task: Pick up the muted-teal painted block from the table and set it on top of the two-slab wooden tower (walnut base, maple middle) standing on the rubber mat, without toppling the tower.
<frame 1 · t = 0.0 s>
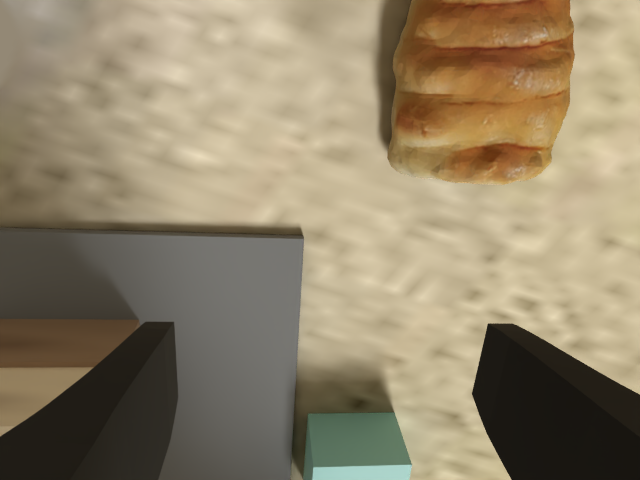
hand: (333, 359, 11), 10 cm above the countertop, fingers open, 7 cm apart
tower mid: (47, 424, 19), point 3 cm above the countertop, touching tower base
pastry: (460, 72, 19), on the countertop
tower base: (75, 376, 22), resting on mat, touching tower mid
mat: (127, 404, 23), on the countertop
teal block: (347, 444, 26), on the countertop
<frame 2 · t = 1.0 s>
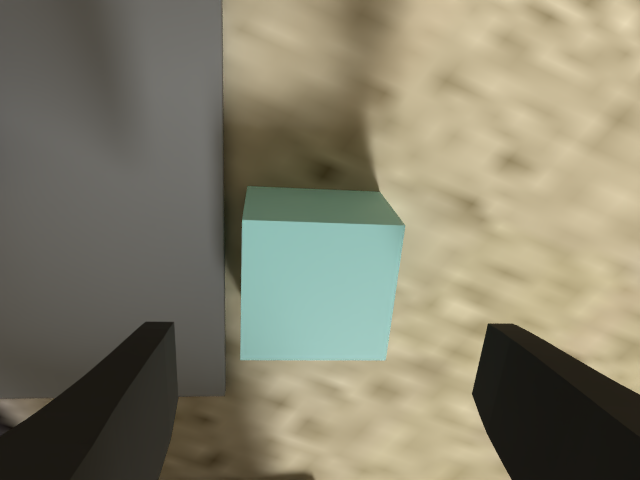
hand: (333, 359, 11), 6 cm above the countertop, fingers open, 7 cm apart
teal block: (310, 248, 17), on the countertop
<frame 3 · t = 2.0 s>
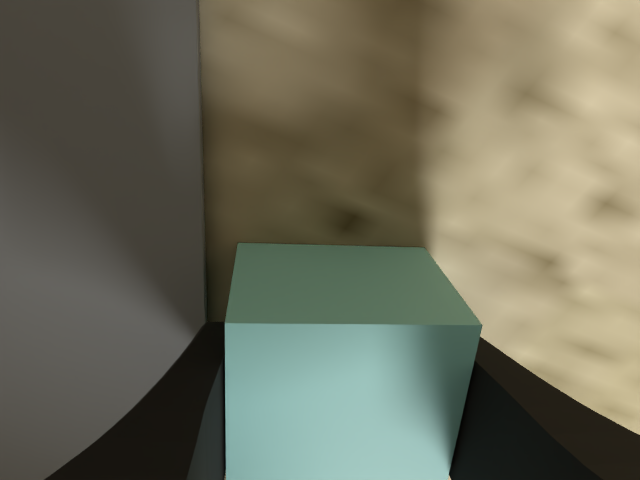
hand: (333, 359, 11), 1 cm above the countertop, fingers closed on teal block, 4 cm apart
teal block: (326, 325, 12), on the countertop, touching gripper
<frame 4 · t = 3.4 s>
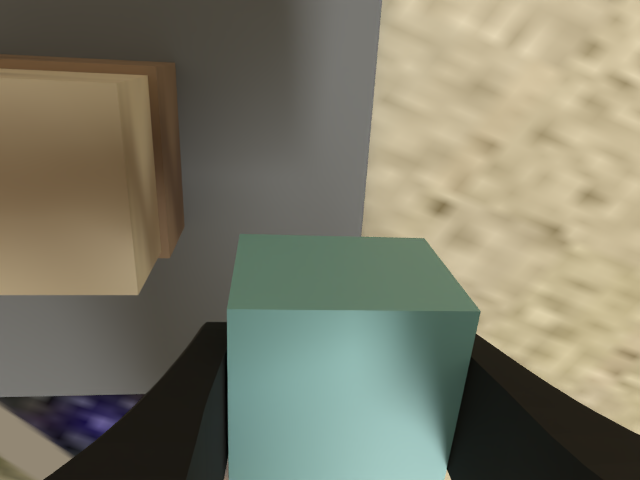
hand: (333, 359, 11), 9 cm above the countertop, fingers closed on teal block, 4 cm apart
tower mid: (61, 166, 15), point 3 cm above the countertop, touching tower base
tower base: (94, 147, 17), resting on mat, touching tower mid
mat: (158, 198, 19), on the countertop
teal block: (327, 316, 12), point 8 cm above the countertop, touching gripper
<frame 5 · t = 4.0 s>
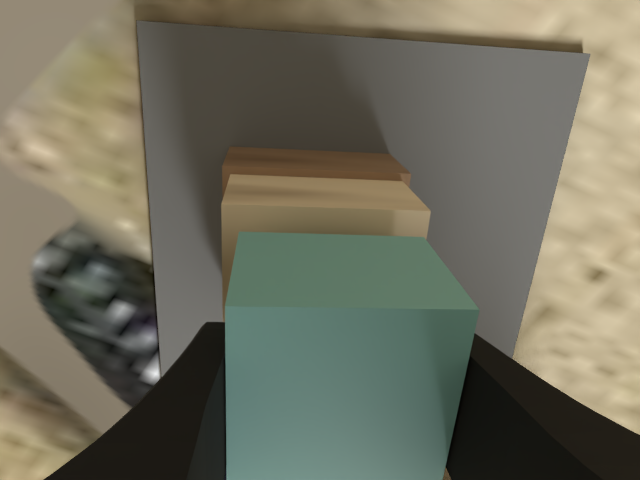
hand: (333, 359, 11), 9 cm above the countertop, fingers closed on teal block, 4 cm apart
tower mid: (313, 256, 16), point 3 cm above the countertop, touching tower base
tower base: (306, 225, 19), resting on mat, touching tower mid
mat: (350, 267, 20), on the countertop
teal block: (326, 315, 12), point 8 cm above the countertop, touching gripper
when the fingers open (9 cm above the countertop, at t = 4.7 s): teal block stays where it is, resting on tower mid.
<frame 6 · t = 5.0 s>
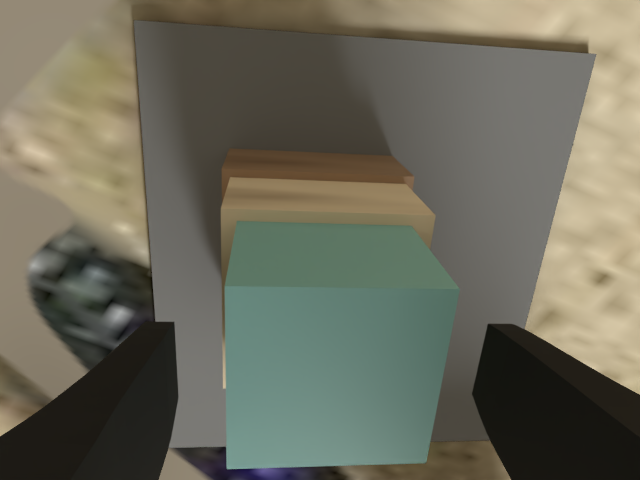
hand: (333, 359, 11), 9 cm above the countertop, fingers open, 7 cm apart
tower mid: (314, 260, 16), point 3 cm above the countertop, touching teal block, tower base
tower base: (307, 228, 19), resting on mat, touching tower mid
mat: (351, 271, 20), on the countertop
teal block: (320, 300, 13), point 6 cm above the countertop, touching tower mid
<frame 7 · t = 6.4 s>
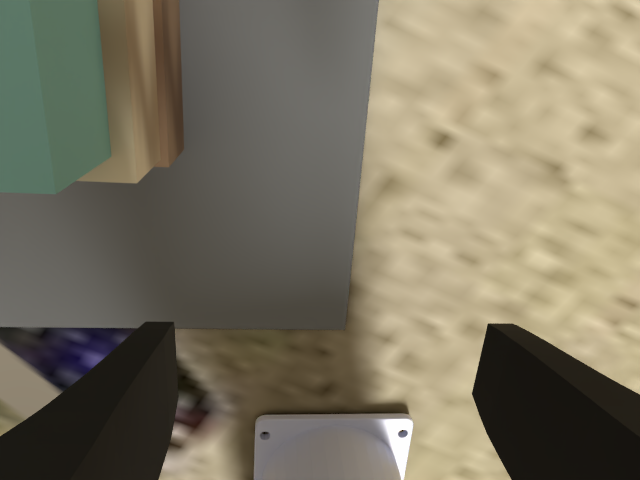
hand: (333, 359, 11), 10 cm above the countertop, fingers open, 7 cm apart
tower mid: (60, 63, 14), point 3 cm above the countertop, touching teal block, tower base
tower base: (94, 61, 17), resting on mat, touching tower mid
mat: (157, 120, 18), on the countertop
teal block: (4, 58, 11), point 6 cm above the countertop, touching tower mid
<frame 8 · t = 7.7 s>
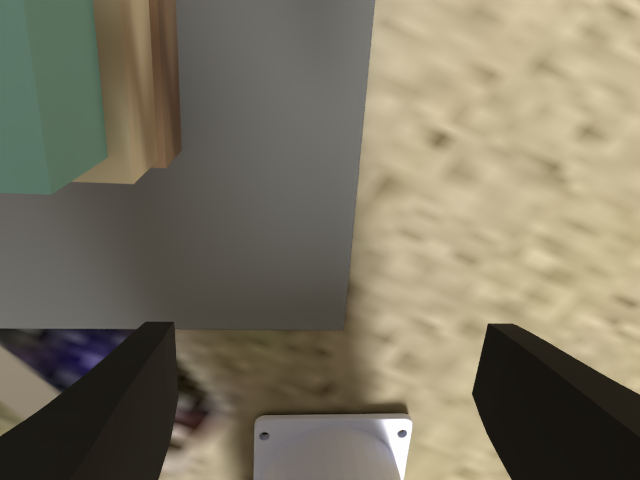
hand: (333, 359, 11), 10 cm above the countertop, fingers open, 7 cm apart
tower mid: (57, 65, 14), point 3 cm above the countertop, touching teal block, tower base
tower base: (92, 62, 17), resting on mat, touching tower mid
mat: (155, 121, 19), on the countertop
teal block: (1, 60, 12), point 6 cm above the countertop, touching tower mid
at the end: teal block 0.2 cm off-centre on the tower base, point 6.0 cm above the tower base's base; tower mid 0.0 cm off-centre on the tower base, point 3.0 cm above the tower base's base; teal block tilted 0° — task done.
